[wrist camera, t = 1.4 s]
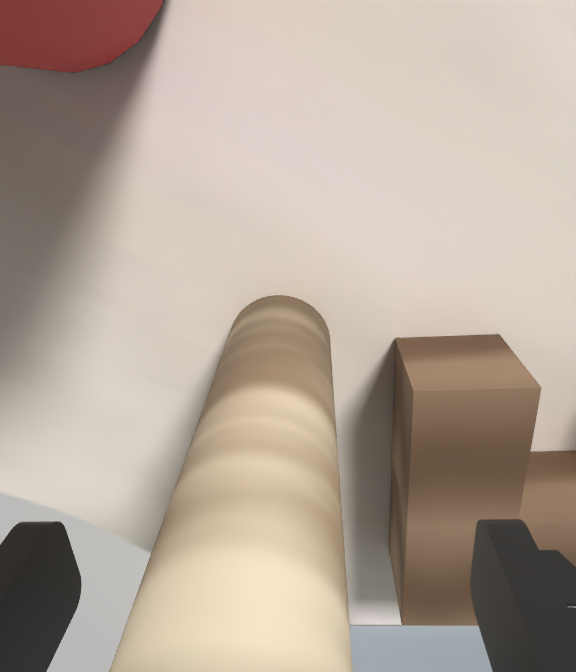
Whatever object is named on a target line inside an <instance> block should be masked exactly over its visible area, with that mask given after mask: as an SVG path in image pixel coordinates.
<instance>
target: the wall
mask: <svg viewBox="0 0 576 672" xmlns="http://www.w3.org/2000/svg"><path fill="white" fill-rule="evenodd" d="M350 641H351V655H352V670H353V672H493V671H492V668H491V665H490V661H489V658H488V655H487V652H486V649H485V645H484V642H483V639H482V636H481V632H480V629H479V626H350Z"/></svg>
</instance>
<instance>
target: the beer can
mask: <svg viewBox="0 0 576 672" xmlns="http://www.w3.org/2000/svg"><path fill="white" fill-rule="evenodd" d="M162 2H163V0H0V65H8V66H17V67H26V68H35V69H44V70H53V71H62V72H72V73H75V72H79V71H83V70H86V69H90V68H94V67H98V66H101V65H105V64H109V63H110V62H112V61H113V60H114V59H116V58H117V57H118V56H120V55H121V54H122V53H124V52H125V51H126V50H128V49H129V48H130V47H132V46H133V45H134V44H136V43H137V42H138V41H139V40H140V39H141V37H142V36H143V34H144V33H145V31H146V29H147V28H148V26H149V25H150V23H151V22H152V20H153V19H154V17H155V16H156V14H157V12H158V11H159V9H160V8H161V6H162Z"/></svg>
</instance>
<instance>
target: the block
mask: <svg viewBox="0 0 576 672" xmlns="http://www.w3.org/2000/svg"><path fill="white" fill-rule="evenodd" d="M540 392H541V387H540V385H539V384H538V383H537V381H536V380H535V379H534V378H533V376H532V375H531V374H530V373H529V371H528V370H527V369H526V368H525V366H524V365H523V364H522V363H521V361H520V360H519V359H518V357H517V356H516V355H515V354H514V352H513V351H512V350H511V349H510V347H509V346H508V345H507V344H506V342H505V341H504V340H503V338H502V337H501V336H500V335H499V334H496V335H469V336H442V337H415V338H395V367H394V400H393V433H392V466H391V499H390V532H389V552H390V557H391V563H392V569H393V575H394V581H395V587H396V593H397V599H398V605H399V611H400V617H401V623H402V626H478V623H477V619H476V616H475V613H474V609H473V604H472V598H471V589H470V575H471V566H472V558H473V549H474V540H475V532H476V525H477V522H478V520H481V519H521V520H523V521H524V522H525V524H526V525H527V527H528V529H529V531H530V533H531V535H532V537H533V539H534V541H535V543H536V545H537V547H538V549H539V550H558V551H559V552H560V553H561V554H562V555H563V556H564V557H565V558H567V559H568V560H569V561H570V562H571V563H572V564H573V565H574V566H575V567H576V451H546V452H530V450H531V444H532V438H533V433H534V427H535V421H536V415H537V410H538V404H539V398H540Z"/></svg>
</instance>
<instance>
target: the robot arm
mask: <svg viewBox="0 0 576 672" xmlns="http://www.w3.org/2000/svg"><path fill="white" fill-rule="evenodd" d="M470 589H471V598H472V604H473V609H474V613H475V616H476V619H477V623H478V626H479V629H480V632H481V636H482V639H483V642H484V645H485V649H486V652H487V655H488V658H489V661H490V665H491V668H492V671H493V672H576V567H575V566H574V565H573V564H572V563H571V562H570V561H569V560H568V559H567V558H565V557H564V556H563V555H562V554H561V553H560V552H559V551H558V550H539V549H538V547H537V545H536V543H535V541H534V539H533V537H532V535H531V533H530V531H529V529H528V527H527V525H526V524H525V522H524V521H523V520H521V519H481V520H478V522H477V525H476V532H475V540H474V549H473V558H472V566H471V575H470ZM80 594H81V576H80V572H79V569H78V566H77V563H76V560H75V557H74V554H73V551H72V548H71V545H70V541H69V538H68V535H67V532H66V529H65V527H64V525H63V524H62V523H61V522H20V523H18V524H17V525H15V526H14V527H13V529H12V530H11V531H10V532H9V534H8V535H7V537H6V538H5V539H4V541H3V542H2V543H1V545H0V672H46V671H47V669H48V667H49V665H50V663H51V661H52V659H53V657H54V654H55V652H56V650H57V648H58V646H59V644H60V642H61V640H62V638H63V636H64V634H65V632H66V630H67V628H68V626H69V624H70V622H71V619H72V617H73V615H74V613H75V611H76V609H77V606H78V603H79V599H80Z"/></svg>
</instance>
